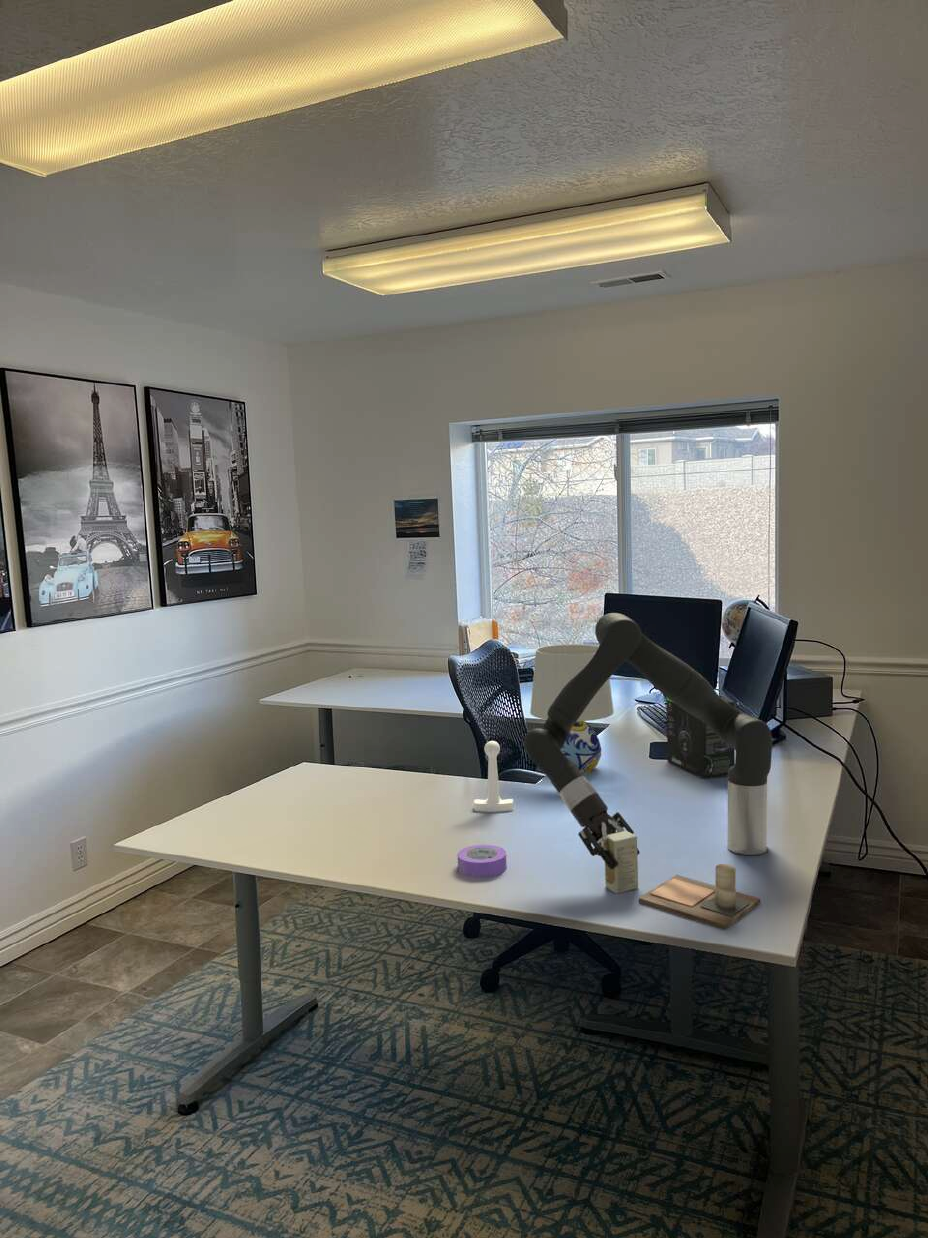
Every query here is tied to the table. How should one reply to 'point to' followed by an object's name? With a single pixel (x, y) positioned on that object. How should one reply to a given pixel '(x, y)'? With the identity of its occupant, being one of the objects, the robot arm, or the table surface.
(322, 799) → the table surface
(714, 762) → the headset box
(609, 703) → the table lamp
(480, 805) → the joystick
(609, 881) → the skincare box
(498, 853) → the masking tape
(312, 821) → the table surface
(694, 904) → the board
